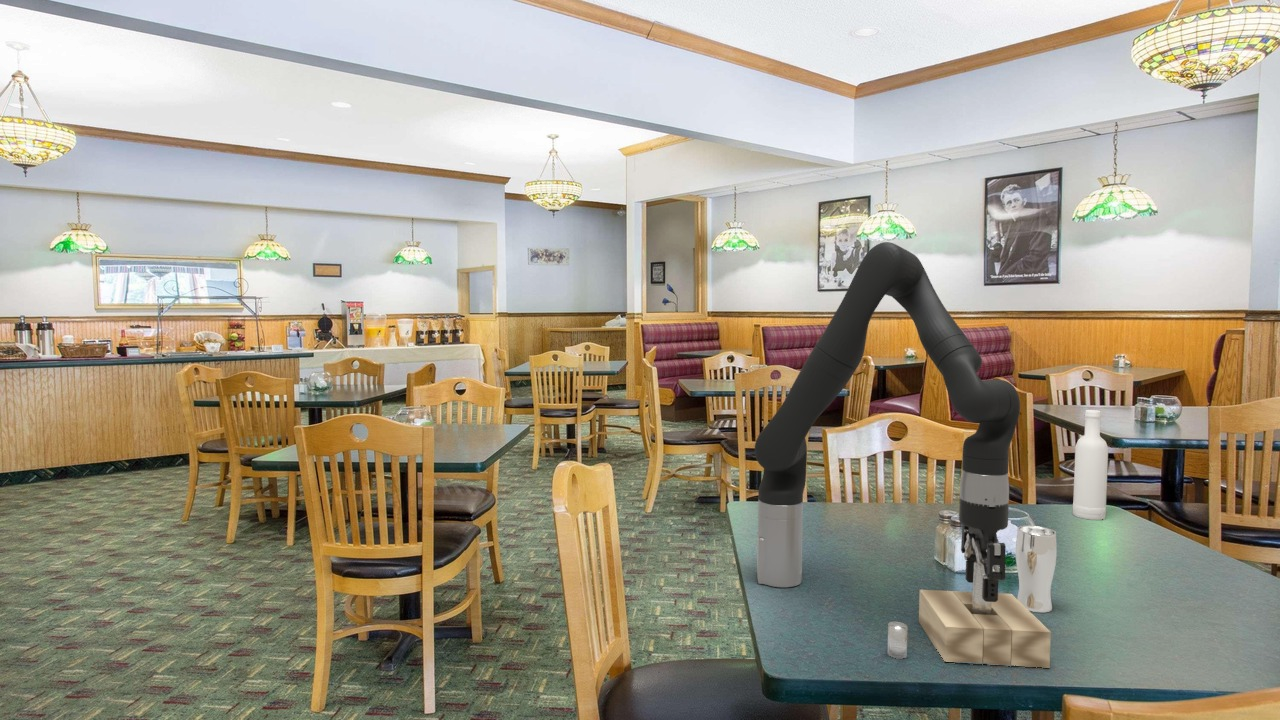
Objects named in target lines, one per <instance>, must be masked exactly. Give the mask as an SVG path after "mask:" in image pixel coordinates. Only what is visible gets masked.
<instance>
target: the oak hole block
mask: <svg viewBox="0 0 1280 720" xmlns="http://www.w3.org/2000/svg"><path fill="white" fill-rule="evenodd" d="M972 596H973V591H960V590H959V591H955V590H938V589H937V590H935V589H919V596H918V597H919V598H918V599H919V601H918V602H919V603H918V605H919V606H918V623H919V624H920V626H921V627H922V629H923V630H924V632H925V634H926V636H927V637H928V639H929V640H930V642H931V643H932V645H933V647H934V649H935V650H936V649H937V650H936V652H937V653H938V652H939V653H938V655H939V654H940V655H941V656H940V655H939V656H940V657H942V658H943V659H942V658H941V659H942V661H943V660H944V661H946V662H972V663H973V662H974V663H982V662H983V663H989V664H999V665H1014V666H1015V665H1016V666H1025V667H1026V666H1027V667H1036V668H1035V669H1038V668H1037V667H1042V668H1041V669H1043V668H1050V665H1051V661H1050V660H1051V640H1052V638H1051V637H1052V632H1051V630H1050V629H1048V628H1047V626H1045V625H1044V624H1043V623H1042V622H1041V621H1040V620H1039V619H1038V618H1037V617H1036V616H1035V615H1034V614H1033V612H1032V611H1029V610H1028V609H1027V608H1026V607H1025V606H1024V605H1023V604H1022V603H1021V602H1020V601H1018V600H1017V597H1015V596H1014V594H1012V593H1003V592H1002V593H1000V592H998V600H997V601H996V602H992V607H991V615H983V614H972ZM944 661H943V662H944ZM1025 667H1024V668H1025Z"/></svg>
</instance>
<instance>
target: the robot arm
mask: <svg viewBox="0 0 1280 720" xmlns="http://www.w3.org/2000/svg"><path fill="white" fill-rule="evenodd" d="M885 296H888V297H892V298H893V299H894V300H895V301H896V302H897V303H898V304H899V305H900V306H901V307H902V308H903V309H904V310H905V311H906V312H907V314H908V316H910V318H911V319H912V321H913V323H914V325H915V328H916V332H917V334H918V337H919V340H920V343H921V345H922V348H923V349H924V350H925V353H926V354H927V355H928V357H929V358H930V360H931V362H932V363H933V364H934V365H935V367H936V369H938V372H940V374H941V375H942V378H943V382H944V385H945V387H946V391H947V393H948V397H949V399H950V402H951V405H952V407H953V408H954V410H955V411H956V413H958V415H959V416H960V417H962V418H963V419H964V420H965V421H967V422H970V423H974V424H978V427H977V430H976V432H975V433H973V434H971V435H969V436H967V437H966V438H965V439H964V441H963V445H962V457H961V458H962V463H961V464H962V465H961V475H960V482H959V508H958V509H959V511H958V514H959V515H958V521H959V523H960V524H961V526H962V528H961V544H960V552H961V554H963V558H964V560H965V581H966V582H967V583H972V584H973V576H974V562H975V561H977V563H978V565H979V566H981V568H982V574H983V590H982V598H983V599H984V601H986V602H996V601H997V600H998V593H999V581H1005V580H1006V548H1007V547H1006V544H1005V542H1000V541H999V539H998V535H997V533H998V532H999V531H1002V530H1005V529H1007V527H1008V526H1009V505H1010V502H1009V501H1010V483H1009V482H1010V481H1009V457H1010V456H1009V450H1010V449H1009V448H1010V446H1011V443H1012V440H1013V438H1014V434H1015V430H1016V427H1017V424H1018V420H1019V416H1020V410H1021V400H1020V396H1019V393H1018V390H1017V389H1016V388H1015V386H1014V385H1013V384H1012V383H1010V382H1008V381H1006V380H1004V379H990V380H989V379H986V380H985V379H983V380H982V379H981V378H980V377H979V376H978V374H977V373H978V371H980V369H981V368H982V364H983V360H982V356H981V355H980V353H979V351H978V350H977V349H976V347H975V346H974V345H973V343H972V342H971V340H969V338H968V337H967V335H966V334H965V332H963V330H962V328H960V327H959V325H958V323H957V322H956V321H955V320H954V319H953V317H952V316H951V315H950V313H949V312H948V310H947V309H946V307H945V306H944V304H943V303H942V301H941V299H940V297H939V295H938V294H937V292H936V290H935V288H934V286H933V284H932V283H931V280H930V277H929V276H928V273H927V271H926V268H925V267H924V266H923V263H922V262H921V260H920V259H919V258H918V257H917V255H915V254H914V253H912V252H911V251H909V250H908V249H905V248H903V247H901V246H900V245H898V244H896V243H893V242H889V241H888V242H887V241H885V242H880V243H878V244H876V245H874V246H872V247H871V249H869V250H868V252H866V254H865V255H864V257H863V259H862V260H861V262H860V263H859V266H858V268H857V269H856V272H855V274H854V275H853V278H852V279H851V282H850V284H849V286H848V289H847V291H846V292H845V294H844V297H843V299H842V300H841V302H840V304H839V306H838V307H837V309H836V311H835V312H834V315H832V318H831V320H830V322H829V323H828V324H827V327H826V328H825V330H824V331H823V333H822V335H821V337H820V338H819V339H818V341H817V342H816V344H815V345H814V347H813V349H812V350H811V352H810V354H809V355H808V357H807V358H806V360H805V362H804V364H803V365H802V367H801V369H800V371H799V373H798V374H797V377H796V378H795V379H794V381H793V384H792V386H791V388H790V389H789V392H788V394H787V396H786V398H785V400H784V401H783V403H782V404H781V406H780V407H779V409H778V410H777V411H776V412H775V414H773V416H772V418H771V420H770V421H768V423H767V424H766V426H765V427H764V428H763V429H762V430H761V432H760V433H759V434H758V435H757V438H756V440H755V444H754V454H755V455H754V456H755V459H756V461H757V463H758V464H759V466H761V467H762V468H763V474H762V478H761V482H760V484H759V486H758V493H757V494H758V496H757V497H758V499H757V500H758V501H757V502H758V505H757V508H758V509H757V514H758V515H757V516H758V517H757V519H758V521H757V532H756V533H757V534H756V537H757V539H756V543H757V544H756V577H757V584H759V585H761V584H762V585H766V586H768V587H774V588H775V587H776V588H792V587H796V586H798V585H801V583H802V577H803V575H802V574H803V569H802V568H803V565H802V564H803V514H804V513H803V509H804V507H803V506H804V505H803V504H804V501H803V500H804V499H803V498H804V490H805V486H806V480H807V463H808V462H807V461H808V460H807V459H808V448H807V447H808V445H807V440H806V437H807V435H808V434H809V432H810V429H811V428H812V427H813V425H814V423H815V422H816V421H817V419H818V418H819V417H820V416H821V415H822V413H824V411H825V410H826V409H827V408H828V407H829V406H830V405H831V404H832V403H833V402H834V401H835V400H836V398H837V397H838V395H840V393H841V392H842V391H843V390H844V388H845V387H846V385H847V384H848V382H850V380H851V378H852V376H853V375H854V374H855V372H856V370H857V369H858V368H859V365H860V364H861V362H862V359H863V357H864V353H865V347H866V343H867V335H868V328H869V324H870V322H871V318H872V316H873V314H874V313H875V311H876V310H877V308H878V307H879V305H880V303H881V301H882V300H883V298H884V297H885ZM992 569H993V572H992Z"/></svg>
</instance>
